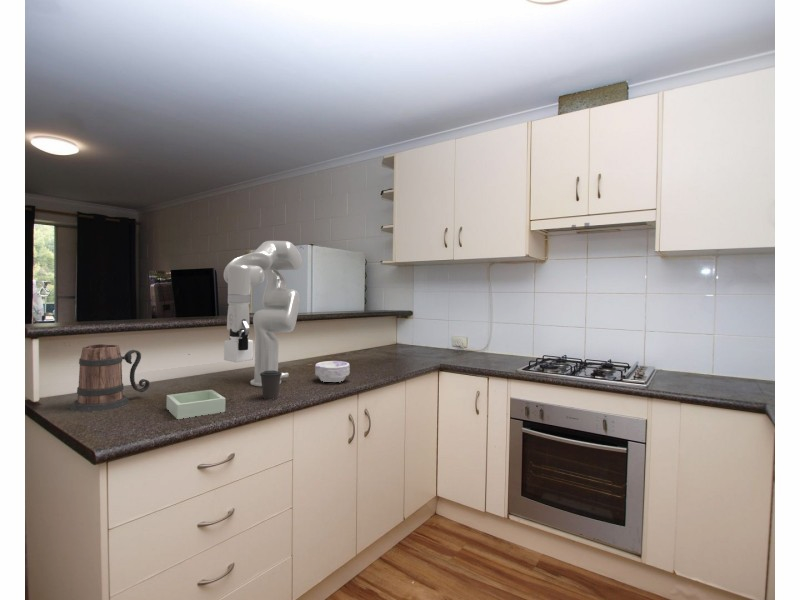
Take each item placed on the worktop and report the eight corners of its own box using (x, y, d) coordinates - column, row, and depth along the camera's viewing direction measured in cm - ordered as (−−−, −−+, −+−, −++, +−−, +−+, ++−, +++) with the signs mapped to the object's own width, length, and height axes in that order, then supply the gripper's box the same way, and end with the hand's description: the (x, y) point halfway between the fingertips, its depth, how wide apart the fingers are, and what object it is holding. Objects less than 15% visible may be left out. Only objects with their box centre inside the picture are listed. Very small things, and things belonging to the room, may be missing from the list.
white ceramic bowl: (307, 382, 188) (308, 364, 188) (328, 376, 202) (329, 359, 202) (335, 386, 181) (336, 368, 181) (355, 380, 195) (356, 362, 195)
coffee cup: (258, 395, 163) (258, 369, 162) (280, 394, 166) (280, 368, 165) (260, 401, 155) (260, 373, 155) (283, 399, 158) (283, 372, 158)
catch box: (211, 402, 152) (211, 389, 152) (225, 411, 141) (225, 398, 141) (166, 408, 143) (166, 395, 143) (177, 419, 132) (177, 405, 132)
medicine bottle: (253, 359, 154) (253, 326, 154) (236, 362, 149) (236, 328, 148) (240, 357, 158) (241, 325, 158) (223, 360, 152) (223, 326, 152)
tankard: (79, 415, 133) (79, 351, 133) (62, 405, 143) (62, 345, 143) (158, 401, 152) (159, 344, 151) (138, 392, 162) (139, 340, 161)
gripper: (220, 298, 157) (219, 345, 157) (237, 301, 143) (236, 352, 144) (240, 298, 161) (240, 344, 162) (259, 300, 148) (258, 350, 149)
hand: (238, 348), depth 153 cm, fingers closed on medicine bottle, 8 cm apart
